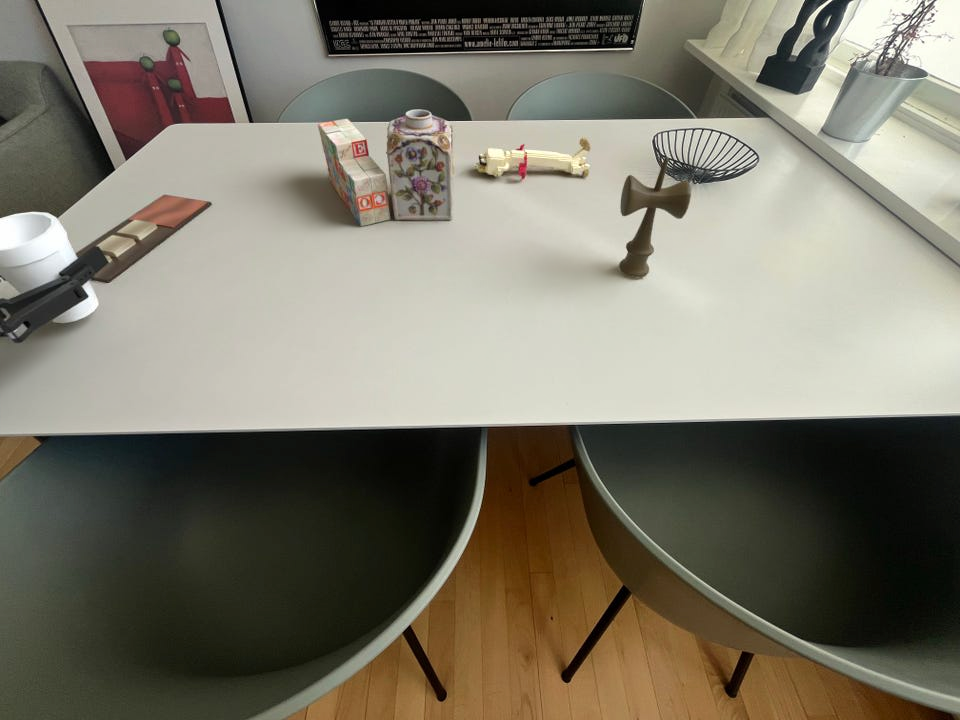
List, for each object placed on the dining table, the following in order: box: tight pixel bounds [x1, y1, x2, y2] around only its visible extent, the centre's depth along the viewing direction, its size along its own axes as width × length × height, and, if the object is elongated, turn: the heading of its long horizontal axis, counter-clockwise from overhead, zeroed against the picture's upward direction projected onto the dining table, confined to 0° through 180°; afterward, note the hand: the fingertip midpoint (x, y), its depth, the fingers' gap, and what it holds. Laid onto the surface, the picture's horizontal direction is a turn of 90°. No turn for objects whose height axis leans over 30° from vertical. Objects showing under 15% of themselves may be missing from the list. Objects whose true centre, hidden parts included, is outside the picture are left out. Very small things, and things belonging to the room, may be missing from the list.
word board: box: [75, 194, 213, 284], centre depth 88 cm, size 11×27×2 cm, turn 165°
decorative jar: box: [385, 108, 455, 221], centre depth 91 cm, size 12×12×18 cm
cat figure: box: [475, 137, 592, 180], centre depth 106 cm, size 10×9×25 cm
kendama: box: [618, 156, 692, 278], centre depth 76 cm, size 6×10×20 cm, turn 83°
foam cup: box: [0, 211, 99, 324], centre depth 66 cm, size 10×9×13 cm
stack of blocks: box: [317, 118, 391, 227], centre depth 95 cm, size 21×6×12 cm, turn 28°
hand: (69, 250), depth 69 cm, fingers closed on foam cup, 9 cm apart
